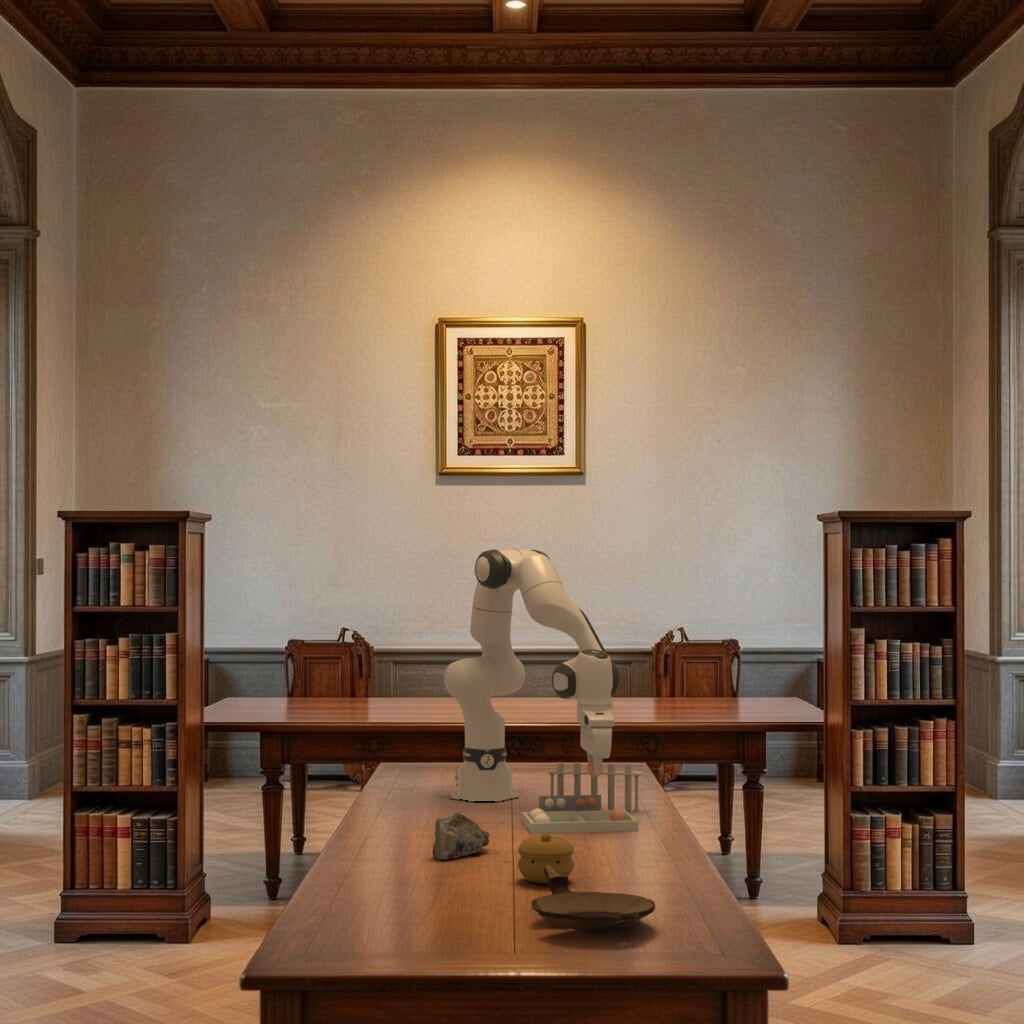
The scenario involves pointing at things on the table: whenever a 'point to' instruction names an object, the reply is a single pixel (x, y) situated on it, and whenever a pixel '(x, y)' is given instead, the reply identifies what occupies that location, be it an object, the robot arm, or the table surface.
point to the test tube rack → (594, 783)
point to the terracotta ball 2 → (617, 815)
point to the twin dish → (580, 822)
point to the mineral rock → (458, 837)
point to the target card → (570, 803)
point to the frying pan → (589, 906)
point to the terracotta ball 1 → (590, 769)
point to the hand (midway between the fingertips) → (594, 771)
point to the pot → (545, 857)
